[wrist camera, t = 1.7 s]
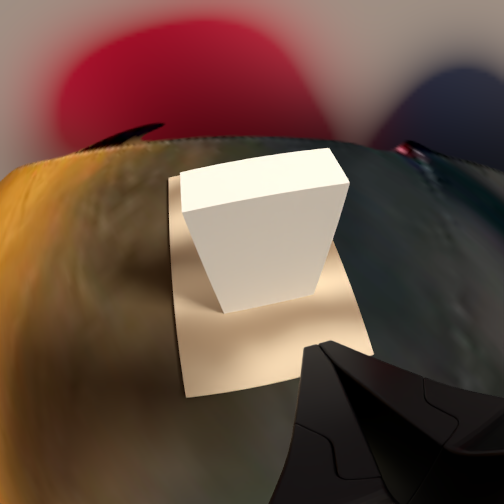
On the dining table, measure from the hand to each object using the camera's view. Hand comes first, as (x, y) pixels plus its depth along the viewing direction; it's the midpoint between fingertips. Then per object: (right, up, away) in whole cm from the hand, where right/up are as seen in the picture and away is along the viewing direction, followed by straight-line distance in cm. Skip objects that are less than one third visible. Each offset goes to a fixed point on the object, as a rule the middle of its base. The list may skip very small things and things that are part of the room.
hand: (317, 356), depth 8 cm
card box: (-1, 0, +14) cm, 14 cm away
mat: (-2, +3, +17) cm, 17 cm away
